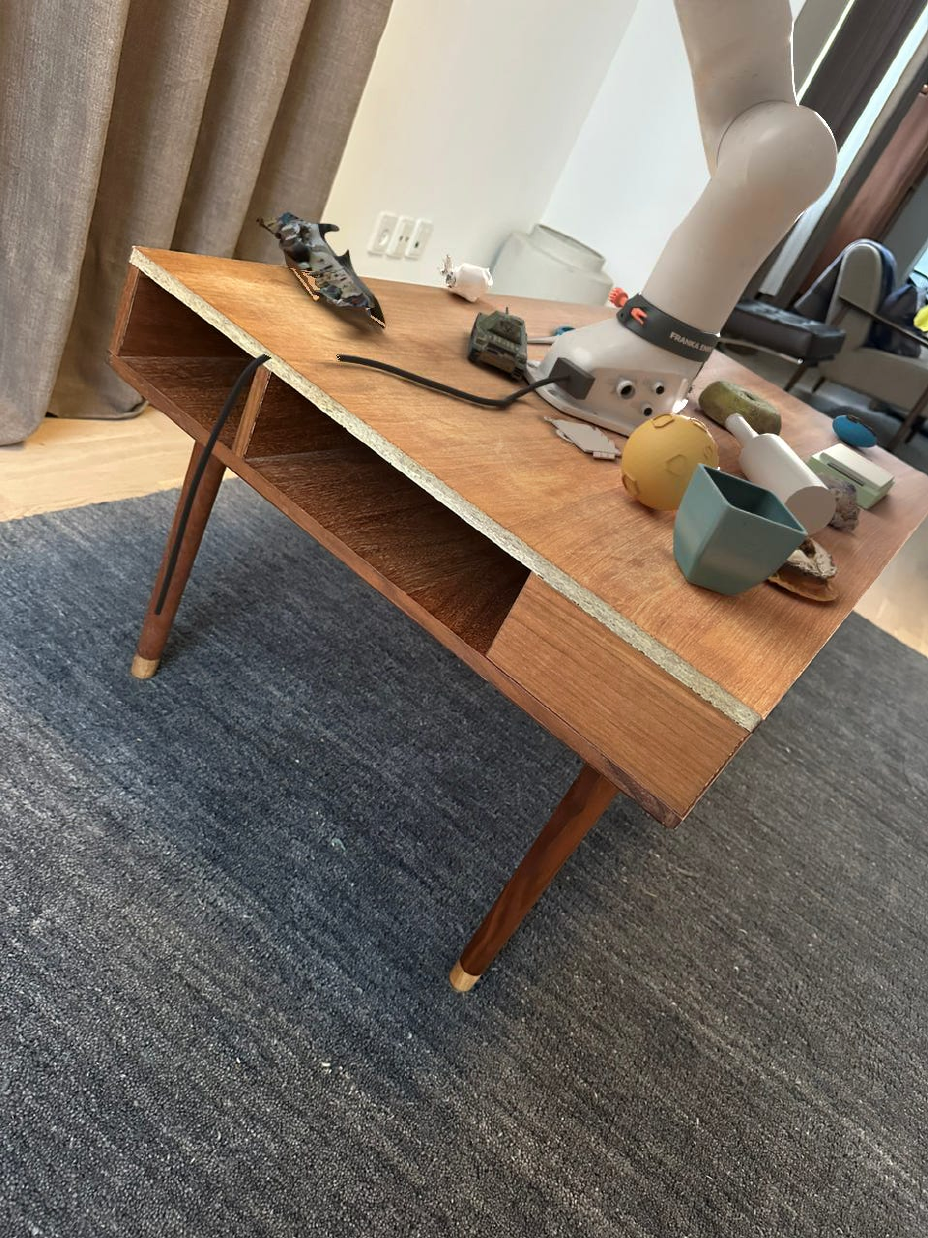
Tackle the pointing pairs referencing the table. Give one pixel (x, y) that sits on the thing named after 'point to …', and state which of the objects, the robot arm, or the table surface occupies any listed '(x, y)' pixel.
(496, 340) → the toy tank
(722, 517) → the flower pot
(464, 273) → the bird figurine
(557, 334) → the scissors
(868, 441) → the ornament
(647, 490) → the stress ball
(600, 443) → the decorative emblem
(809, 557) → the cake on gold board
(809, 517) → the bottle
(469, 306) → the table surface
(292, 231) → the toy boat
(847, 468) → the pale green slotted box
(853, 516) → the mineral specimen
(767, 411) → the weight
